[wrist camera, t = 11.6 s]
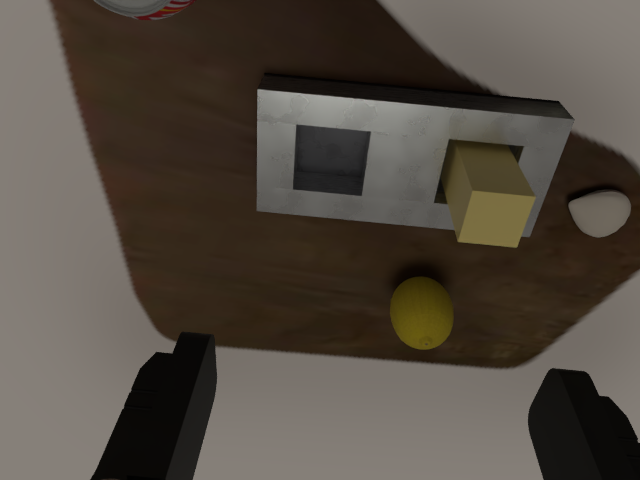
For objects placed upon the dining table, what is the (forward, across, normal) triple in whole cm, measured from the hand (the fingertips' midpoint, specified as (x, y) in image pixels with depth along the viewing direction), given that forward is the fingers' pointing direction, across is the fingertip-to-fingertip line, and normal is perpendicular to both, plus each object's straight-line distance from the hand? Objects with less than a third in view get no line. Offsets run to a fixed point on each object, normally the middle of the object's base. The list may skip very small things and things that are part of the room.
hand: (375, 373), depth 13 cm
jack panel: (+30, -4, +8) cm, 31 cm away
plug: (+30, -10, +8) cm, 32 cm away
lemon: (+30, -8, +22) cm, 38 cm away
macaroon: (+30, -21, +12) cm, 38 cm away
